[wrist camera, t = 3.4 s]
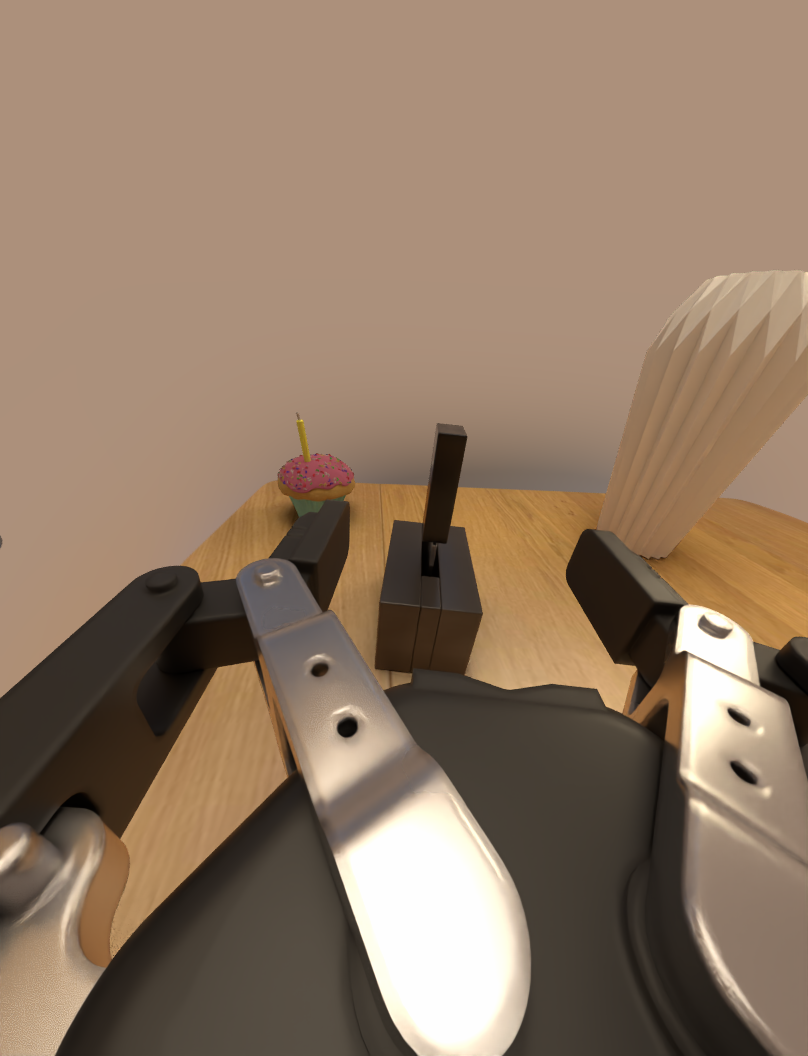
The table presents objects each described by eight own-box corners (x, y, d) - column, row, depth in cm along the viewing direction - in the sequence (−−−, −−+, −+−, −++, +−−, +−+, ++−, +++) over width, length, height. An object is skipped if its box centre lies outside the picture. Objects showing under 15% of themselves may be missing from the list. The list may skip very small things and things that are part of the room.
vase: (560, 510, 47) (646, 285, 33) (654, 522, 46) (779, 298, 33) (599, 564, 35) (754, 254, 22) (725, 581, 35) (961, 274, 21)
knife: (409, 631, 24) (438, 433, 17) (410, 604, 27) (436, 421, 20) (430, 634, 24) (468, 437, 17) (429, 606, 27) (462, 424, 20)
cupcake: (314, 540, 34) (308, 424, 28) (265, 513, 38) (250, 406, 32) (368, 513, 40) (372, 414, 34) (321, 492, 44) (317, 400, 38)
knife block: (374, 668, 21) (379, 602, 18) (389, 575, 30) (394, 519, 27) (463, 678, 21) (483, 613, 18) (452, 582, 30) (464, 527, 27)
